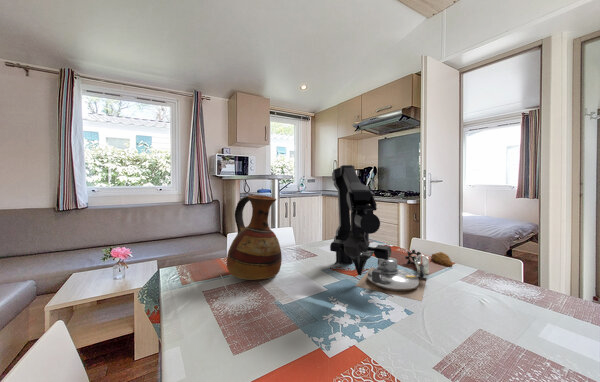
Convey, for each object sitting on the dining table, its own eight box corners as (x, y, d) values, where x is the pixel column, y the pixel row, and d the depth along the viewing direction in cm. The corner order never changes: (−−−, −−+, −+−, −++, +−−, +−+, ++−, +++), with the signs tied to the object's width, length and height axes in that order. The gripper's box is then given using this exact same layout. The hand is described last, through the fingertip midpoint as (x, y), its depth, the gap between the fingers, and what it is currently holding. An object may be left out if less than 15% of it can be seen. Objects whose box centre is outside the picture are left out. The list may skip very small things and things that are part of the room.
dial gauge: (414, 278, 81) (414, 255, 81) (415, 275, 84) (415, 252, 83) (428, 280, 79) (428, 256, 79) (428, 277, 81) (428, 254, 81)
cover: (374, 272, 82) (374, 260, 82) (379, 266, 88) (379, 255, 88) (396, 276, 79) (396, 263, 79) (399, 269, 85) (399, 258, 85)
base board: (354, 289, 76) (354, 285, 76) (371, 270, 92) (371, 266, 92) (421, 304, 66) (421, 300, 66) (427, 280, 82) (427, 276, 82)
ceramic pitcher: (267, 290, 76) (265, 196, 74) (214, 282, 82) (212, 195, 81) (290, 269, 94) (288, 193, 93) (245, 264, 101) (243, 193, 100)
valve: (434, 277, 84) (421, 265, 96) (435, 259, 84) (421, 249, 96) (415, 277, 85) (404, 265, 97) (415, 258, 85) (404, 249, 97)
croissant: (424, 258, 105) (424, 247, 105) (440, 258, 105) (440, 247, 105) (441, 269, 92) (441, 257, 91) (459, 270, 91) (459, 257, 91)
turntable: (361, 284, 76) (361, 270, 76) (374, 268, 89) (374, 256, 89) (415, 296, 68) (415, 280, 68) (421, 277, 81) (421, 263, 81)
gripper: (322, 228, 75) (323, 277, 76) (383, 235, 65) (383, 291, 66) (336, 223, 85) (336, 266, 85) (391, 228, 75) (391, 277, 75)
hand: (359, 274), depth 78 cm, fingers closed
